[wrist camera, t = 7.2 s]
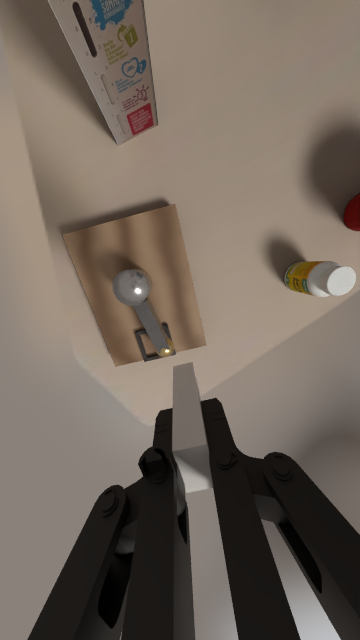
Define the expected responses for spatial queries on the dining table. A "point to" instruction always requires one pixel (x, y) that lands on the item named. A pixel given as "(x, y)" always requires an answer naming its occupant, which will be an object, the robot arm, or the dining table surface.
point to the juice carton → (113, 60)
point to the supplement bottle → (320, 278)
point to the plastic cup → (353, 214)
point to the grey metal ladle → (142, 306)
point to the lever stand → (155, 259)
